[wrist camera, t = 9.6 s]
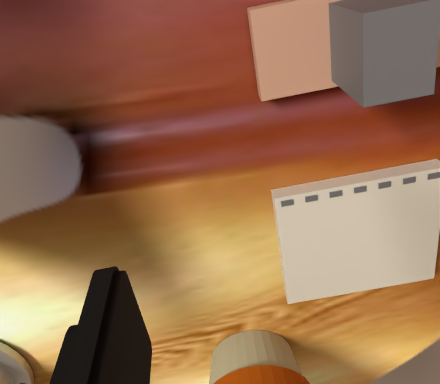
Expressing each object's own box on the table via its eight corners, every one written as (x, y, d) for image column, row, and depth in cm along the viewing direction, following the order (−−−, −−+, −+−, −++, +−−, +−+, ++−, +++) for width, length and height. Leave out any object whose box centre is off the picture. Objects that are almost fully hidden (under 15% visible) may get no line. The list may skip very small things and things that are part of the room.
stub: (448, 58, 29) (521, 85, 23) (258, 95, 30) (277, 132, 23) (458, -35, 26) (545, -34, 20) (246, 7, 27) (264, 22, 20)
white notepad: (426, 267, 40) (434, 278, 38) (284, 292, 40) (288, 304, 39) (436, 158, 34) (447, 167, 32) (271, 189, 34) (274, 199, 33)
